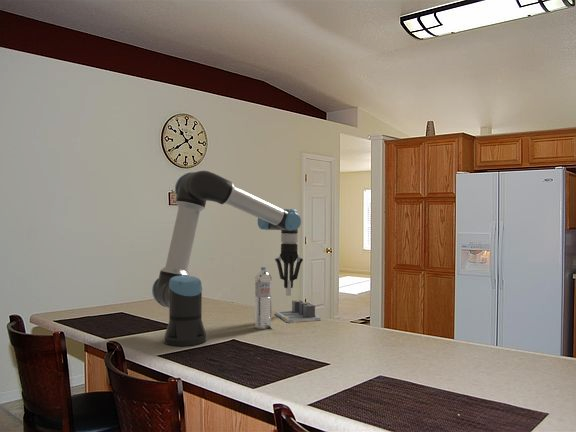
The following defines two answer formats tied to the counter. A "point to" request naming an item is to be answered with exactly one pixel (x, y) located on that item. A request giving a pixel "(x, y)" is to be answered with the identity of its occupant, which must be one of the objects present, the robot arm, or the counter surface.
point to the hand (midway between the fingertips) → (288, 295)
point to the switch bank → (294, 317)
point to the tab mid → (302, 307)
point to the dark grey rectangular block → (308, 311)
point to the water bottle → (263, 300)
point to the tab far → (296, 306)
